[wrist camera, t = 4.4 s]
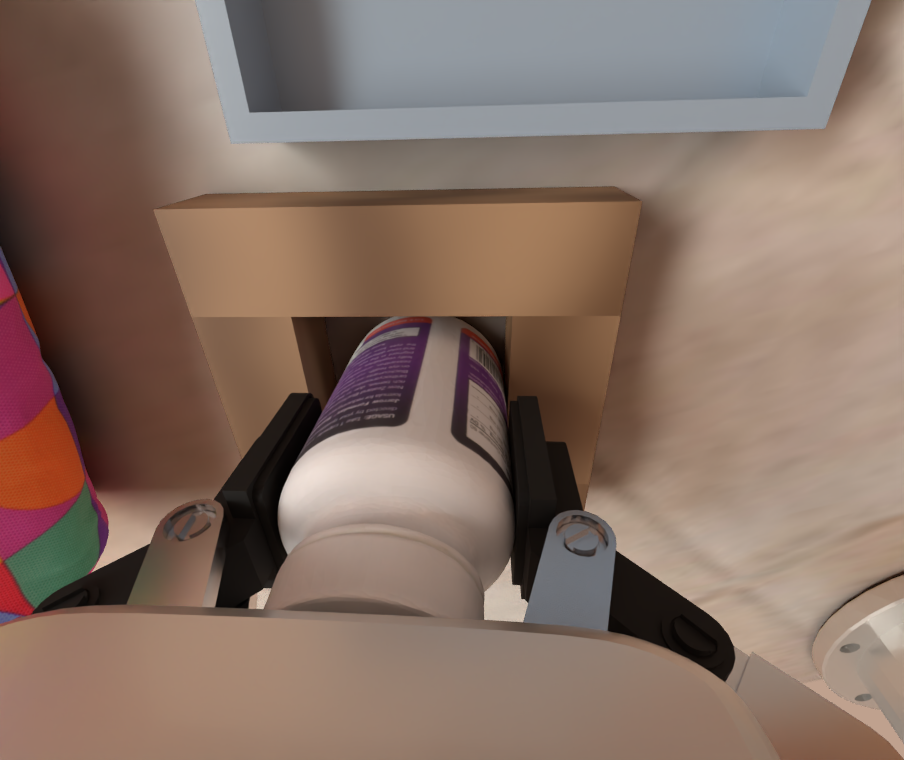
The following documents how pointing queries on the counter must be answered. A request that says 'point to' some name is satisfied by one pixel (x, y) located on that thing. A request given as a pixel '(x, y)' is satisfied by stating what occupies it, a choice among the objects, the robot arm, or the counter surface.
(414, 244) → the socket block
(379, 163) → the counter surface
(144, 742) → the robot arm
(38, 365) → the pencil case
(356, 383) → the pill bottle
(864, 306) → the counter surface
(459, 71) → the tray
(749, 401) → the counter surface
